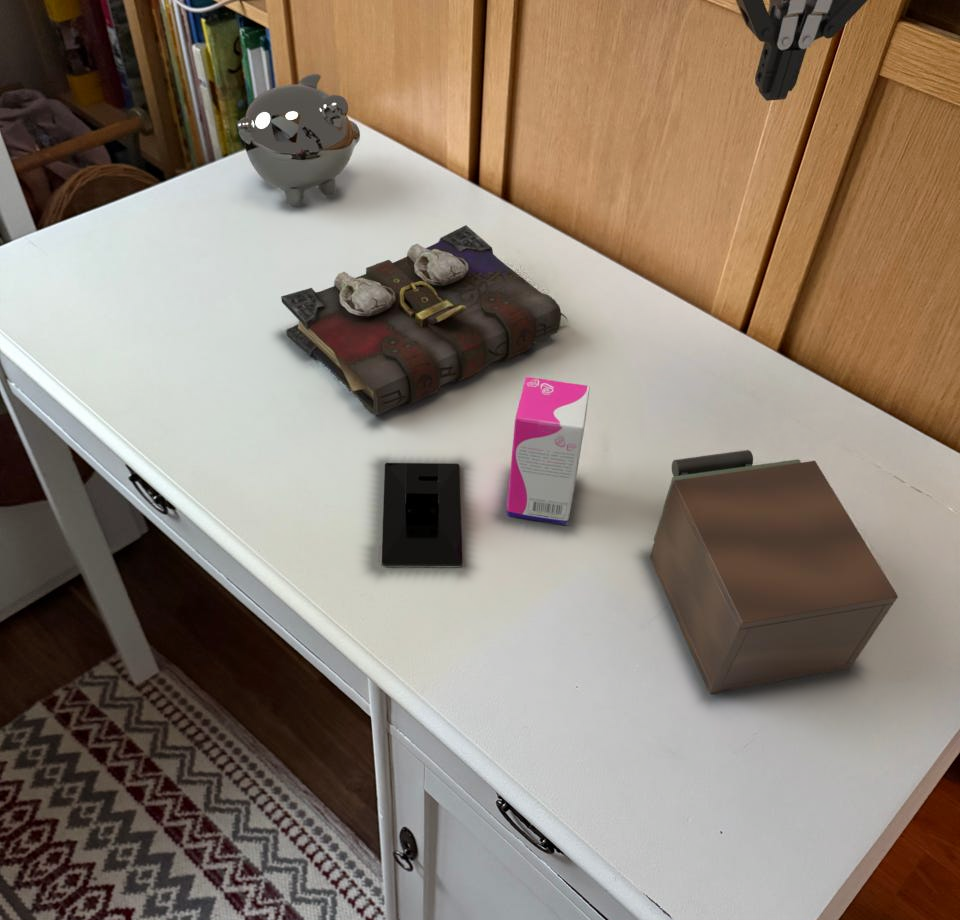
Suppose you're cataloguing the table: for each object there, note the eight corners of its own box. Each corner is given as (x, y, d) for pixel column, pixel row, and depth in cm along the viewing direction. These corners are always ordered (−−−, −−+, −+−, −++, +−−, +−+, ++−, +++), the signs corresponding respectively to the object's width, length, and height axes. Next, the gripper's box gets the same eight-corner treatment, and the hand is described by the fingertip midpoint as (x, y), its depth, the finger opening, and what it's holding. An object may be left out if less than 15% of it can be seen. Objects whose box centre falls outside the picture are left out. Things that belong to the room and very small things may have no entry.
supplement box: (575, 481, 88) (593, 384, 79) (567, 526, 85) (585, 431, 76) (514, 471, 89) (525, 373, 79) (504, 516, 85) (514, 419, 76)
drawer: (637, 504, 86) (654, 440, 79) (752, 488, 88) (778, 424, 81) (708, 663, 76) (734, 604, 70) (836, 640, 78) (872, 581, 72)
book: (372, 430, 91) (367, 368, 85) (280, 333, 99) (271, 270, 93) (581, 337, 101) (590, 276, 95) (482, 256, 109) (485, 195, 103)
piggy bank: (380, 195, 115) (377, 97, 106) (267, 226, 110) (253, 126, 101) (339, 152, 121) (332, 55, 111) (229, 180, 115) (212, 81, 106)
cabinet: (649, 557, 83) (672, 479, 76) (779, 537, 86) (815, 460, 78) (709, 693, 75) (742, 623, 68) (851, 668, 77) (898, 596, 70)
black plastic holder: (462, 568, 82) (464, 532, 78) (378, 567, 81) (376, 532, 78) (459, 465, 89) (460, 428, 85) (382, 465, 88) (380, 428, 85)
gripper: (782, -173, 56) (709, 125, 70) (978, -176, 58) (869, 113, 72) (734, -211, 60) (675, 78, 74) (919, -212, 62) (827, 68, 76)
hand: (771, 95), depth 73 cm, fingers closed
